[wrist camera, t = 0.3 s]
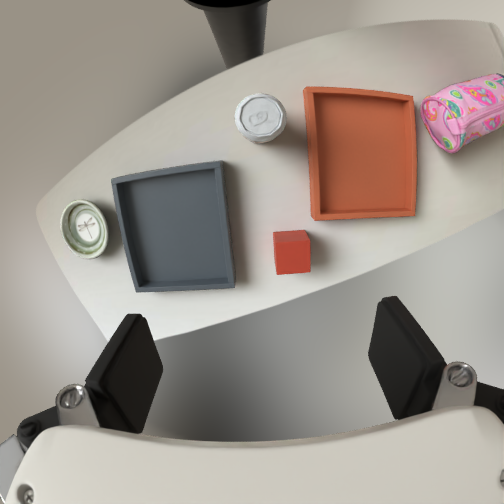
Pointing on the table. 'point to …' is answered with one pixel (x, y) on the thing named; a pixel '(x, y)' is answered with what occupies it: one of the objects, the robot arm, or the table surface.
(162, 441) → the robot arm
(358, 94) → the terracotta tray
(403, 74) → the table surface
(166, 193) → the grey tray
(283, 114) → the beer can
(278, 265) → the red block
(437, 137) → the pencil case
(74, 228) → the saucer
